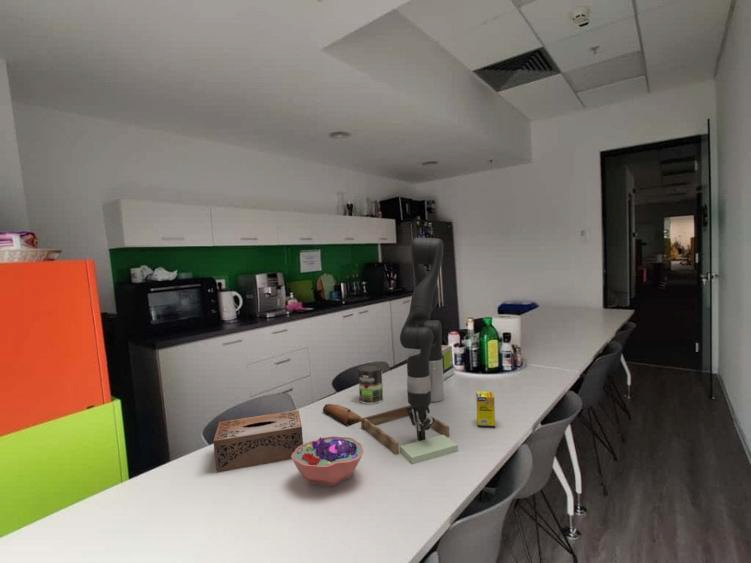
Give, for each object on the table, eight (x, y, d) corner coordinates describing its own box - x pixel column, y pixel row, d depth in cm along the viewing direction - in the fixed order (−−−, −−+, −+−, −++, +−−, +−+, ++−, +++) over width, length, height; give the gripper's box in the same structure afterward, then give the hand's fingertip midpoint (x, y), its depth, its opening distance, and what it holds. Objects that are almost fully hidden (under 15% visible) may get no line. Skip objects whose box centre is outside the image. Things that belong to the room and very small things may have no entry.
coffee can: (378, 405, 163) (376, 372, 162) (355, 403, 167) (353, 370, 166) (387, 396, 172) (385, 365, 171) (365, 394, 176) (363, 363, 175)
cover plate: (400, 453, 124) (399, 446, 124) (443, 441, 130) (443, 434, 130) (412, 465, 117) (411, 457, 116) (458, 452, 123) (457, 444, 123)
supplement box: (495, 428, 137) (494, 397, 136) (477, 427, 138) (476, 396, 137) (494, 420, 143) (493, 391, 142) (476, 420, 144) (475, 390, 143)
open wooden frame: (361, 427, 142) (360, 418, 142) (412, 413, 153) (411, 404, 153) (394, 454, 122) (394, 443, 122) (450, 435, 133) (450, 425, 133)
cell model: (301, 464, 120) (298, 428, 119) (366, 462, 119) (364, 425, 118) (286, 498, 103) (283, 456, 102) (363, 496, 102) (361, 454, 101)
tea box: (436, 371, 204) (434, 343, 203) (454, 374, 198) (453, 345, 197) (421, 380, 192) (420, 350, 191) (440, 383, 186) (439, 352, 185)
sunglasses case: (366, 419, 149) (357, 407, 147) (353, 434, 146) (344, 421, 143) (340, 406, 163) (332, 395, 161) (328, 419, 160) (319, 408, 158)
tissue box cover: (216, 473, 117) (213, 441, 117) (221, 451, 131) (219, 421, 131) (303, 457, 124) (301, 426, 123) (300, 437, 138) (298, 409, 137)
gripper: (398, 385, 131) (400, 436, 132) (421, 396, 120) (423, 452, 121) (416, 380, 135) (419, 430, 136) (441, 391, 123) (443, 445, 124)
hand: (421, 440), depth 128 cm, fingers closed
